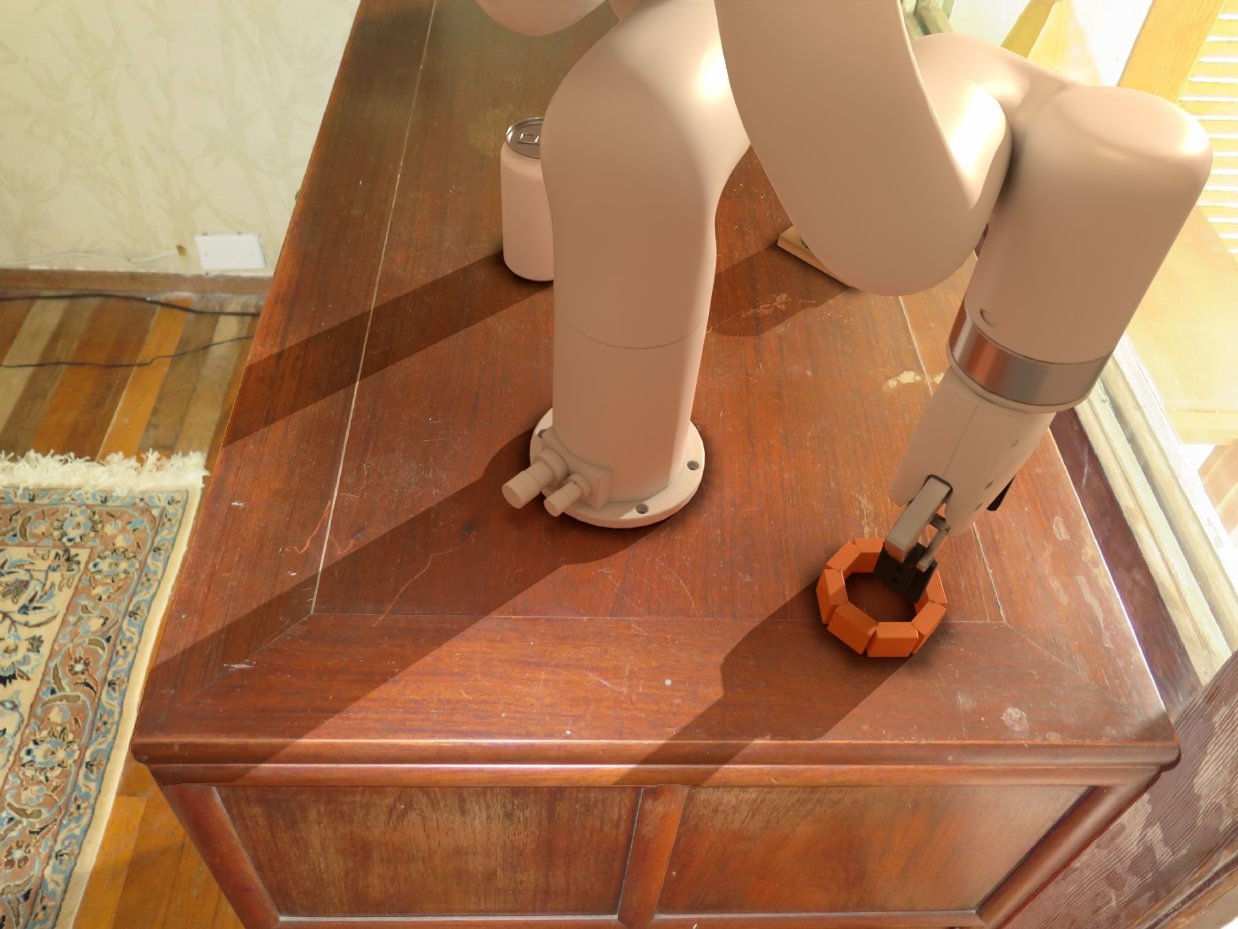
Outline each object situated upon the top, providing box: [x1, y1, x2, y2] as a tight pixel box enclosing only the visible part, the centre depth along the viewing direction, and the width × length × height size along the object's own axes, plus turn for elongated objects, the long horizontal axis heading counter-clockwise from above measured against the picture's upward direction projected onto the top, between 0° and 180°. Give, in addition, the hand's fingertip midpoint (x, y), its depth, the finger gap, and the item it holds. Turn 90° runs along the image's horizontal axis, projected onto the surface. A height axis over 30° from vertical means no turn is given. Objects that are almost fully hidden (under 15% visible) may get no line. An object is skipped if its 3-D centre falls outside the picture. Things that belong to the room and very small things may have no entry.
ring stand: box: [776, 224, 852, 288], centre depth 87 cm, size 8×8×8 cm
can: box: [499, 116, 554, 283], centre depth 81 cm, size 6×6×12 cm
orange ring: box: [815, 537, 949, 658], centre depth 64 cm, size 8×8×2 cm
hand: (936, 541), depth 63 cm, fingers open, 9 cm apart
